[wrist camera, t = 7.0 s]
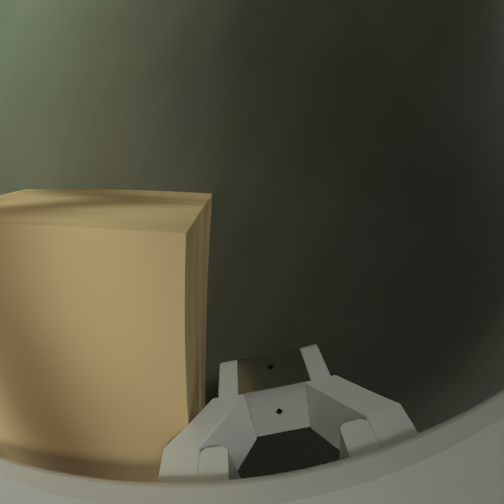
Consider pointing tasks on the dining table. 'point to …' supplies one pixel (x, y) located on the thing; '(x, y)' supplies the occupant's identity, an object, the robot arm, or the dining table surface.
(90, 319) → the oak block
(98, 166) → the dining table surface
